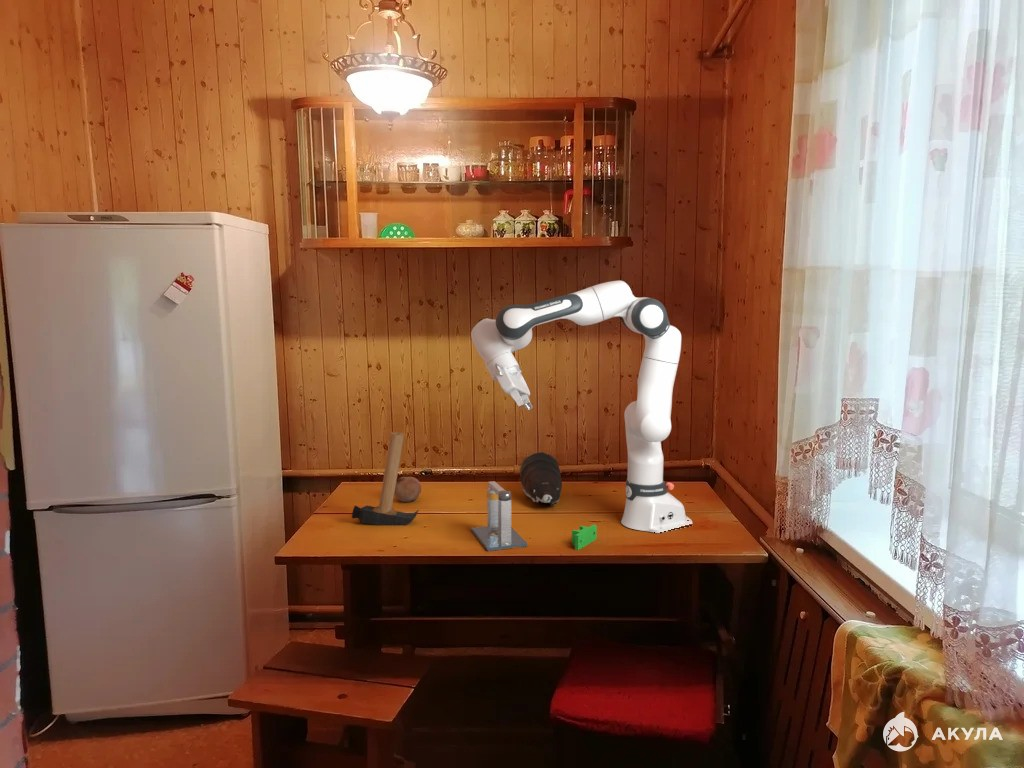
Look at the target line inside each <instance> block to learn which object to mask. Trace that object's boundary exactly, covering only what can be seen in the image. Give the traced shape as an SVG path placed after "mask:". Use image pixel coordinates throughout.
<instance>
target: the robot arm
mask: <svg viewBox="0 0 1024 768" xmlns="http://www.w3.org/2000/svg"><path fill="white" fill-rule="evenodd" d="M631 289H632V288H630V286H629V284H628V283H626V281H624V280H612V281H606V282H602V283H597V284H595V285H593V286H588V287H586V288H584V289H581V290H578V291H575V292H572V293H568V294H564V295H559V296H556V297H553V298H548V299H546V300H541V301H537V302H534V303H531V304H510V305H509V304H508V305H506V306H505V307H503V308H502V309H500V311H499V312H498V313H497V315H496V317H495V319H493V318H488V317H486V318H484V319H481V320H479V321H478V322H477V323H476V324H475V325H474V326H473V328H472V329H471V332H470V335H471V336H470V337H471V340H472V343H473V345H474V348H475V350H476V352H477V353H478V355H479V356H480V358H482V359H483V361H484V365H485V367H486V369H487V371H488V373H489V374H490V377H491V378H492V380H493V381H496V382H498V384H499V386H500V388H501V389H502V391H503V392H504V393H505V394H507V395H509V396H510V397H511V398H512V400H514V401H515V403H516V404H517V406H518V407H519V408H520V407H523V406H524V408H525V409H526V410H527V411H530V410H532V409H533V405H532V403H531V401H530V398H529V397H530V395H531V392H530V389H529V387H528V385H527V382H526V380H525V379H524V377H523V375H522V368H521V367H520V365H519V363H518V361H517V359H516V358H515V356H514V354H513V353H514V352H516V351H520V350H523V349H524V348H526V347H528V346H529V345H530V343H532V339H533V328H534V327H535V326H539V325H542V324H546V323H550V322H553V321H556V320H561V319H563V320H564V319H565V320H569V321H572V322H574V323H575V324H576V325H578V326H579V325H580V326H582V327H583V326H589V325H591V326H592V325H595V324H598V323H601V322H603V321H606V320H609V319H611V318H617V317H618V318H619V319H620V321H621V322H622V323H623V325H624V326H625V327H626V328H627V329H628V330H630V331H631V332H634V333H636V334H639V335H642V336H643V338H644V340H645V344H644V345H645V348H644V350H643V354H642V359H641V362H640V368H639V372H638V377H637V380H636V381H637V394H636V395H637V396H636V397H637V398H636V400H635V401H632V402H630V403H629V404H627V406H626V408H625V410H624V412H623V413H624V422H625V423H624V424H625V425H624V426H625V438H626V439H625V440H626V448H627V450H626V451H627V478H626V480H625V507H624V511H623V514H622V518H621V521H620V523H621V524H622V525H623V526H624V527H626V528H629V529H633V530H637V531H643V532H651V533H654V532H655V534H660V532H662V533H665V532H664V531H666V532H669V531H668V530H671V529H674V528H679V527H681V526H685V525H689V524H693V521H692V519H691V518H690V517H688V516H687V515H686V511H685V509H686V508H685V506H684V505H683V503H682V502H681V501H680V500H678V499H677V498H676V497H675V496H673V495H672V493H670V492H668V490H670V491H672V490H674V489H675V485H674V483H672V482H667V481H665V480H664V461H665V460H664V453H663V450H662V442H663V441H665V440H666V439H667V438H668V437H669V436H670V433H671V431H672V420H671V417H672V416H671V415H672V407H673V390H674V384H675V380H676V376H677V371H678V367H679V362H680V357H681V352H682V333H681V331H680V330H679V329H678V328H677V327H676V326H674V325H671V322H670V320H669V317H668V312H667V309H666V307H665V306H664V304H663V303H662V302H661V301H659V300H658V299H656V298H652V297H645V296H643V297H636V296H635V295H634V294H633V291H632V290H631ZM687 520H689V521H687ZM671 531H672V530H671Z"/></svg>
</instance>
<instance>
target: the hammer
mask: <svg viewBox="0 0 1024 768" xmlns="http://www.w3.org/2000/svg"><path fill="white" fill-rule="evenodd" d="M404 437H405V433H404V432H400V431H398V432H396V431H392V432H391V433H390V438H389V444H388V451H387V457H386V462H385V468H384V473H383V478H382V479H383V480H382V485H381V492H380V498H379V503H378V506H371V505H364V506H363V507H360V506H358V505H354V507H353V509H352V512H351V513H352V514H351V518H352V519H358V520H359V522H360V523H361V524H368V525H374V526H387V527H388V526H389V527H390V526H393V527H395V526H407V525H409V524H411V523H412V522H413V521H414V520H415V519H416V517H417V515H418V512H419V509H418V510H416V511H415V512H402V511H398V510H395V509H394V508H393V504H394V497H395V493H394V492H395V486H396V483H397V482H396V481H397V480H398V474H399V468H400V464H401V463H400V462H401V458H402V457H401V455H402V449H403V444H404Z"/></svg>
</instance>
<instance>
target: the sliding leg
mask: <svg viewBox="0 0 1024 768" xmlns="http://www.w3.org/2000/svg"><path fill="white" fill-rule="evenodd" d="M486 489H487V491H486V499H487V501H486V502H487V504H486V505H487V508H486V509H487V515H486V516H487V526H489V527H490V528H492V530H495V529H496V527H498V498H499V496H498V495H497V494H496V493H495V492H494V491H493V490H492V489H491V488H489V487H488V488H486Z"/></svg>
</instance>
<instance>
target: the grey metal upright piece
mask: <svg viewBox="0 0 1024 768" xmlns="http://www.w3.org/2000/svg"><path fill="white" fill-rule="evenodd" d="M487 484H488V488H491V489H492V490H493V491H494V492H495V493H496V494H497V495H498V496H499V498H498V541H499V542H500V543H501V544H507V543H511V527H512V491H510V490H505V489H504V488H503V486H501V485H500V484H499V483H497V482H496V481H488V483H487Z"/></svg>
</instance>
